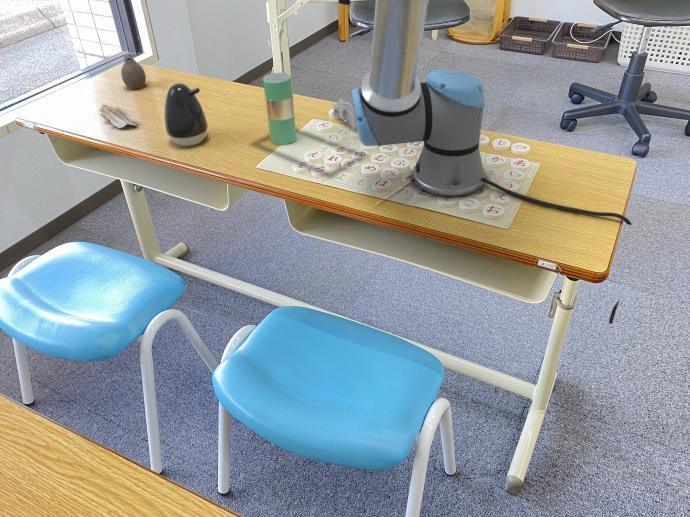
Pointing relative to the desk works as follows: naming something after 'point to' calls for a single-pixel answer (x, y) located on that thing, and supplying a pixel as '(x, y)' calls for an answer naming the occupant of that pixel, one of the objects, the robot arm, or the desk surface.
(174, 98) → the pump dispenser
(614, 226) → the desk surface
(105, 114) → the fossil
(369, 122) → the robot arm
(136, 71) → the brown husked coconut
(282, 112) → the can
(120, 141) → the desk surface
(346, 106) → the garden wall model
